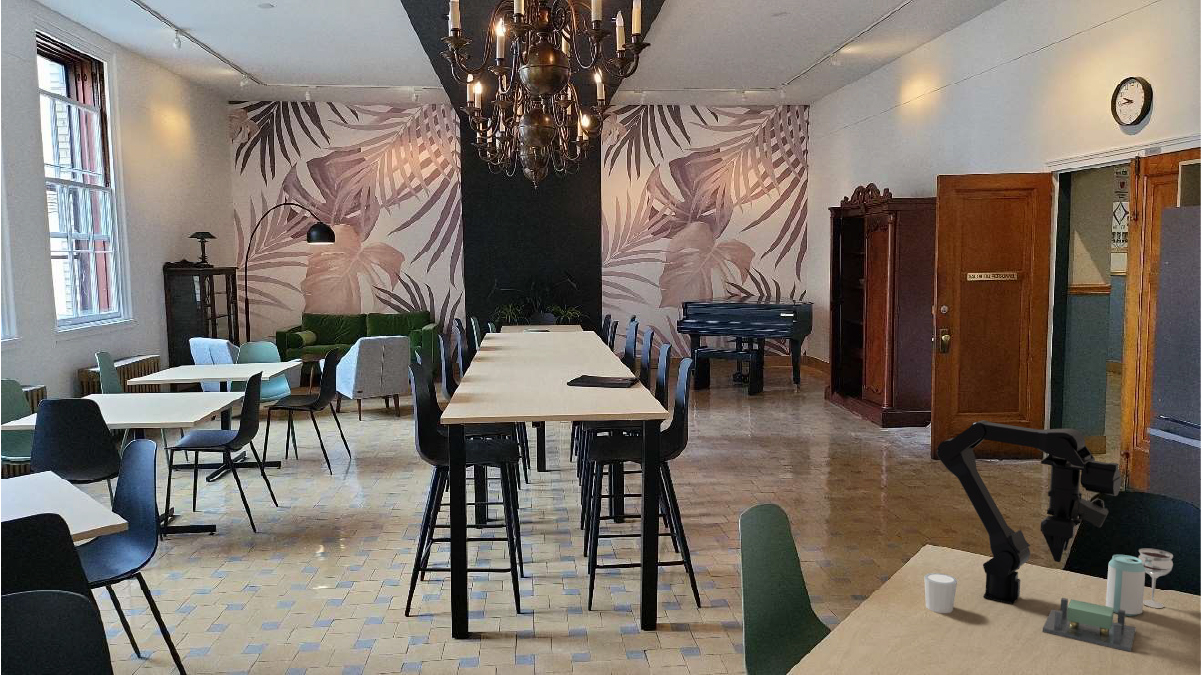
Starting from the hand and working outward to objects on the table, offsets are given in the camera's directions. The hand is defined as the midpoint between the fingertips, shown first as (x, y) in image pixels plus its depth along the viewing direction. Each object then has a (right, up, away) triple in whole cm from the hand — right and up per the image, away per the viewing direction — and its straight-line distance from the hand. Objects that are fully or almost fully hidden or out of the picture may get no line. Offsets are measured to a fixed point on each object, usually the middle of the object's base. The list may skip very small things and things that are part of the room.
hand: (1060, 555), depth 194 cm
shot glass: (-26, -13, +3) cm, 29 cm away
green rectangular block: (+2, -12, -9) cm, 15 cm away
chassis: (+2, -14, -8) cm, 16 cm away
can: (+16, -13, +3) cm, 20 cm away
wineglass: (+24, -13, +6) cm, 28 cm away
